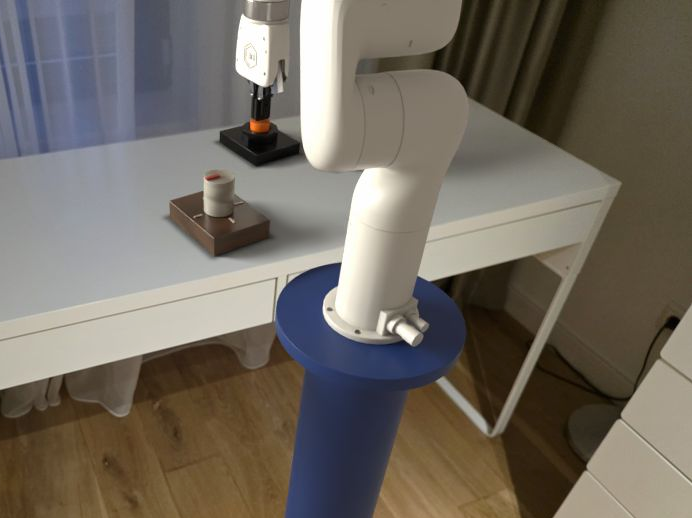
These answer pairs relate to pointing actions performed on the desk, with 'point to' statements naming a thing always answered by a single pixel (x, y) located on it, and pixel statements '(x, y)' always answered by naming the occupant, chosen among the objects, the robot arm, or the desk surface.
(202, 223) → the panel
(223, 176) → the knob
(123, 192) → the desk surface
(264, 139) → the button box
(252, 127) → the button
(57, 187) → the desk surface
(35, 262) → the desk surface
